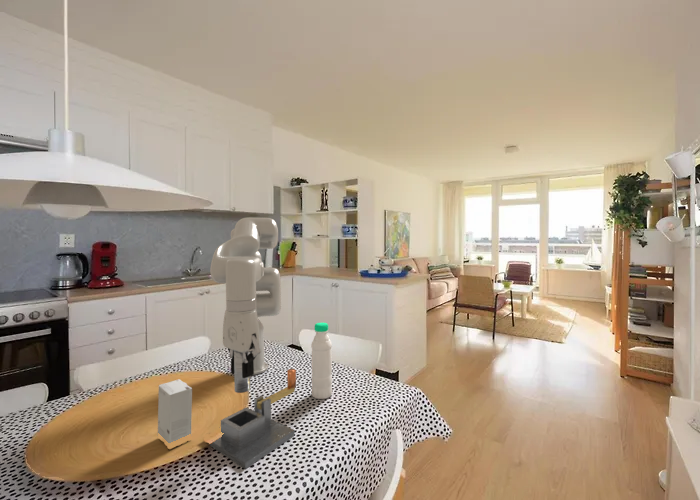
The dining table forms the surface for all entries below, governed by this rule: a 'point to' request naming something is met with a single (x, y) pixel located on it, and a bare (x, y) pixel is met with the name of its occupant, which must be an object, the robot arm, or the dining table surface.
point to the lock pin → (283, 393)
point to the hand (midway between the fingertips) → (242, 373)
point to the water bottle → (321, 363)
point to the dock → (251, 434)
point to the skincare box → (174, 410)
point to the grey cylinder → (240, 374)
